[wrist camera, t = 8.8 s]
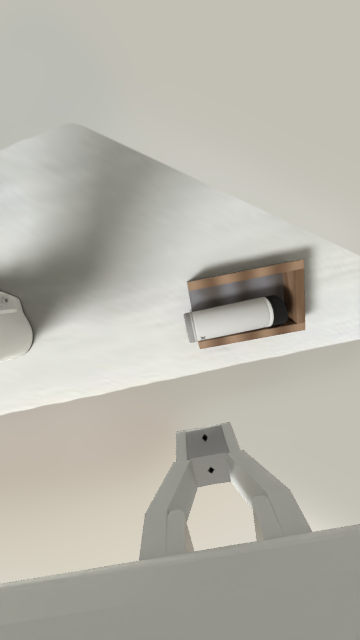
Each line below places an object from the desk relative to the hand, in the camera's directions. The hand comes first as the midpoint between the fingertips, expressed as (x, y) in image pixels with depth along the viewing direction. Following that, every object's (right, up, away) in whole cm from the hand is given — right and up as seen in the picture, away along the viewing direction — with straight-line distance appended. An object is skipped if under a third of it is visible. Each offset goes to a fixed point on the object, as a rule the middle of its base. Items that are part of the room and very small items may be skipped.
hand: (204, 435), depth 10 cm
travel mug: (0, +4, +27) cm, 28 cm away
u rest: (+12, +10, +30) cm, 34 cm away
